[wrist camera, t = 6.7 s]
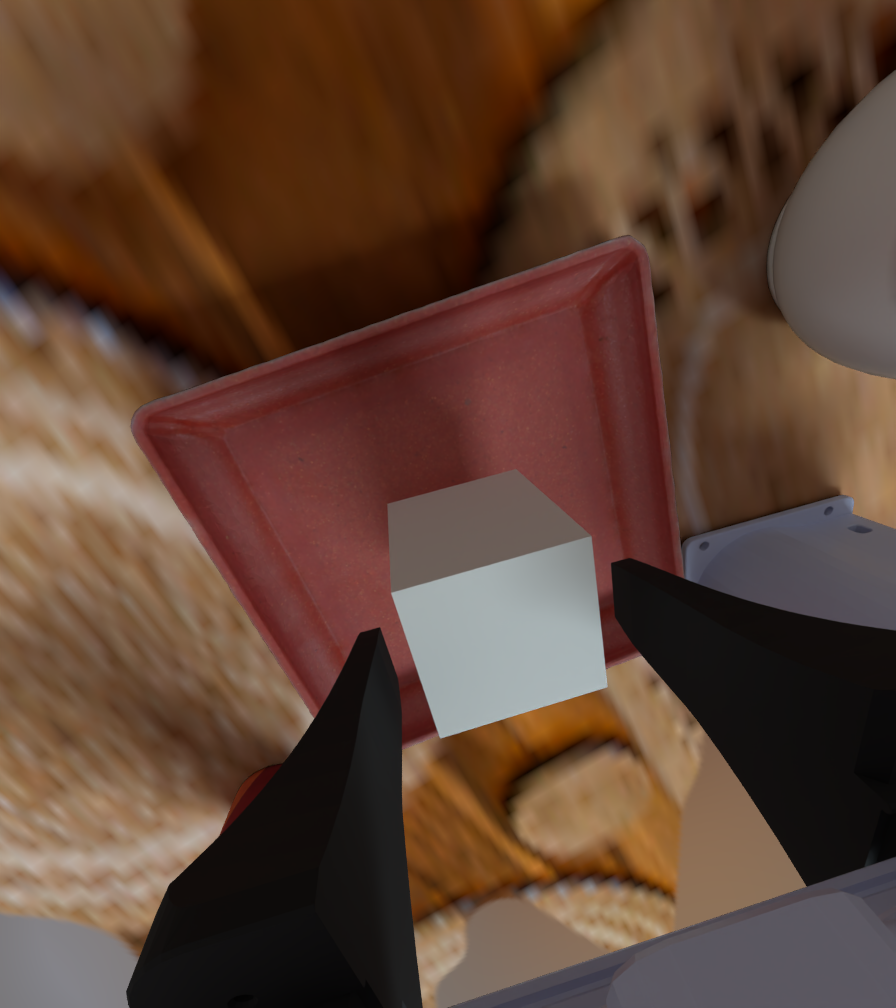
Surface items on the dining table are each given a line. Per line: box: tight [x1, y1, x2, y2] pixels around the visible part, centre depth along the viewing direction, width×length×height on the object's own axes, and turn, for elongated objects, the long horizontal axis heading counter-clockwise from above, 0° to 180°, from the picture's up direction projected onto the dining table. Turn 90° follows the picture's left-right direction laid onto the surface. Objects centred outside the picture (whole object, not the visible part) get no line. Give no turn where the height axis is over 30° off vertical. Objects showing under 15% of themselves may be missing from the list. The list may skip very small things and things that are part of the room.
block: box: [387, 469, 607, 738], centre depth 14 cm, size 5×5×6 cm
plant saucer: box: [131, 235, 685, 750], centre depth 18 cm, size 18×18×3 cm
